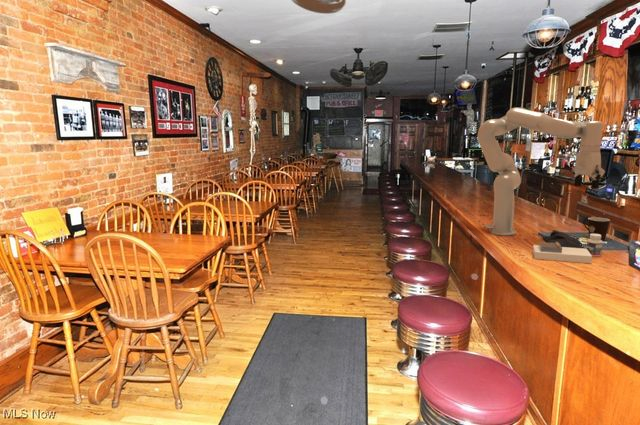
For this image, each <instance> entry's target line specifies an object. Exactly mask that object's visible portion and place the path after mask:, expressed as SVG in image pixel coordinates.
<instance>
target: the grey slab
mask: <svg viewBox="0 0 640 425" xmlns="http://www.w3.org/2000/svg"><path fill="white" fill-rule="evenodd" d="M539 247H540V250H541V251H545V252H558V253H562V247H561V245H560V243H558V242H555V243H548V242H547V241H546V242H544V241H539Z"/></svg>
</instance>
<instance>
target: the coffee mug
mask: <svg viewBox="0 0 640 425" xmlns="http://www.w3.org/2000/svg"><path fill="white" fill-rule="evenodd" d="M586 221H587V223H588V224H587V225H586V224H585V222H586ZM610 221H611V219H609V218H605V217H594V216H593V217H588V218H585V219H583V221H582V224H583V226H584V228H585V229H586V230H587V231H588V239H590V234H600V235H601V239H600V240H602V242H605V241H606V239H607V234H608V230H609V225H610V223H611V222H610Z"/></svg>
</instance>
